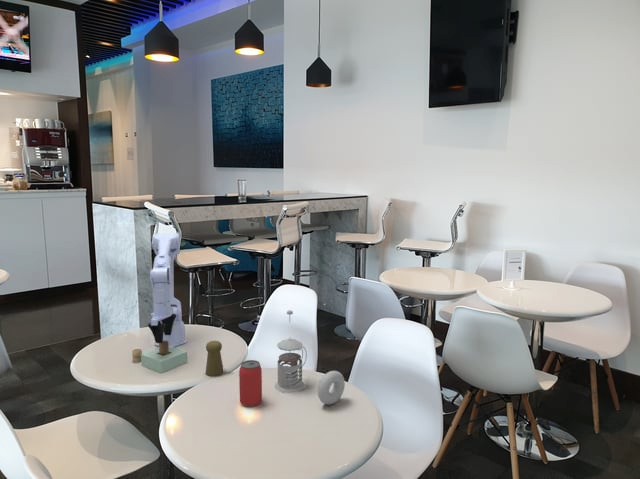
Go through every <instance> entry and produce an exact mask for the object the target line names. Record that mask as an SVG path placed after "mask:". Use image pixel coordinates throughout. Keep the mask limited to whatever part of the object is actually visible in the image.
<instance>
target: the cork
mask: <svg viewBox="0 0 640 479" xmlns="http://www.w3.org/2000/svg"><path fill="white" fill-rule="evenodd" d="M222 345H223V344H222V342H221V341H219V340H210V341H208V342H207V343H206V344H205V350H206V352H207V357H206V365H205V376H207V377H211V378H212V377H215V378H216V377H220V376H222V375H223V374H224V367H223V359H222V353H221V350H222V348H223V346H222Z"/></svg>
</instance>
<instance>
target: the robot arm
mask: <svg viewBox="0 0 640 479" xmlns="http://www.w3.org/2000/svg"><path fill="white" fill-rule="evenodd" d="M151 240H152V248H153V251H154V254H155V257H154V259H153V260H154V261H153V267H152V268H151V269H150V272H149V278H150V279H149V280H150V284H151V290H152V303H153V304H152V306H153V307H152V308H153V312H151V313H150V316H151V317H152V318H151V319H150V322H149V323H148V324H147V325H148V328H149V329H150V331H151V333H152V336H153V338H154V341H155V344H154V345H155V346H158V347H159V343H162V341H168V344H169V346H171V347H174V348H176V347H177V346H180V345H182V344H185V343H187V342H188V341H187V340H186V326H185V323H184V321H183V320H182V319H183V318H182V317H183V316H182V314H183V312H182V303H181V301H180V300H179V299H177V298H175V293H174V292H175V289H174V286H175V285H174V284H175V283H174V282H175V281H174V277H175V276H174V262H175V261H174V260H175V257H176V256H177V255H179V254H180V251H181V250H180V248H181V247H180V246H181V239H180V234H179V233H178V232H173V233H171V232H170V233H168V232H167V233H165V232H164V233H163V232H162V233H160V232H159V233H156V232H154V233H153V234H152V239H151Z"/></svg>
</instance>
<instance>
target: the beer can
mask: <svg viewBox="0 0 640 479" xmlns="http://www.w3.org/2000/svg"><path fill="white" fill-rule="evenodd" d="M239 367H240V368H239V370H238V372H239V375H238V376H239V377H238V378H239V379H238V382H239V403H240V404H241V405H242V406H245V407H248V408H249V407H250V408H252V407H257V406H258V405H260V404H261V403H262V402H263V384H262V383H263V376H262V375H263V374H262V373H263V370H262V367H261V363H260V361H258V360H255V359H249V360H248V359H247V360H244V361H243V362H241V363H240V366H239Z"/></svg>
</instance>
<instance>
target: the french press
mask: <svg viewBox="0 0 640 479" xmlns="http://www.w3.org/2000/svg"><path fill="white" fill-rule="evenodd" d="M293 314H294V312H293V310H292V309H289V310H287V312H286V315H289V318H288V319H289V320H288V321H289V322H291V315H293ZM276 346H277V348H278V349H279V350H281V351H286V352H284V353H281V354H280V355H279V356H278V360H277V382H276V383H275V384H274V388H275V390H276V391H278V392H281V393H286V394H293V393H298V392H301V391H303V390H304V389H305V388H306V384H305V382H304V381H303V367H304V365H305V364H306V361H307V358H308V356H307V355H308V354H307V349H306V347H305V346H303V343H302V342H301V341H300V340H297V339H295V338H288V339H287V338H285V339H283V340H281V341H279V342H278V343H277V344H276ZM287 351H288V352H287ZM292 351H293V352H292ZM294 351H301V355H302V356H301V355H300V353H296V352H294ZM304 351H305V360H304V362H303V356H304ZM298 362H299V364H298Z"/></svg>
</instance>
